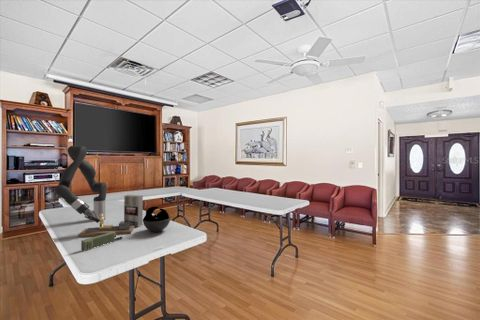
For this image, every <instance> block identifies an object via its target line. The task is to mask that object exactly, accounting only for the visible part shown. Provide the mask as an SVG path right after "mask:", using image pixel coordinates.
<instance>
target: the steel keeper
mask: <svg viewBox="0 0 480 320" xmlns="http://www.w3.org/2000/svg"><path fill="white" fill-rule="evenodd" d="M118 226H119V230H129V229H130V228H131V221H124V220H122V221H119V223H118Z"/></svg>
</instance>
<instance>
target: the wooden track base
mask: <svg viewBox="0 0 480 320" xmlns="http://www.w3.org/2000/svg"><path fill="white" fill-rule="evenodd" d="M99 227H100V226H99ZM99 227H87V228H84V230H81V232H79V233H78V235H77V238H79V239H80V238H92V237H96V236H99V235H103V234H107V233H110V232H114V231H115V233H116V234H115V236H118V235H120V234H121V235H132V233H133V231H134V229H135V227H134V226H131V228H130V229H129V230H119V225H116V226H115V225H114V226H113V228H107V229H99ZM131 232H132V233H131ZM121 235H120V236H121Z"/></svg>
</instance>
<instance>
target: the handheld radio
mask: <svg viewBox="0 0 480 320" xmlns="http://www.w3.org/2000/svg"><path fill="white" fill-rule="evenodd" d="M115 234H116V233H115V231H114V232H110V233H107V234H103V235H99V236H93V237H87V238H86V239H82V240H81V243H80V244H81V245H80V246H81V247H80V249H81V250H82V251H81V250H80V251H81V252H85V251H84V250H86V251H88V249H89V250H92V249H91V248H93V249H95V248H94V247H96V248H98V247H97V246H99V247H102V246H104V245H103V244H106V245H108V244H107V243H109V244H111V243H110V242H112V243H114V241H115V242H116V241H118V240H121V239H123V236H119V237H117V235H115ZM101 245H102V246H101Z"/></svg>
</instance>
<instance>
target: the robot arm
mask: <svg viewBox="0 0 480 320" xmlns="http://www.w3.org/2000/svg"><path fill="white" fill-rule="evenodd" d="M87 151H88V150H87V148H86V147H85V146H83V145H70V146H69V147H68V148H67V155H68V157H69V158H70V159H71V160H72V162H71V163H70V164H69V165H68V166H67V167H66V168H65V169H64V170H63V172H62V174H61V176H60V179H59V183H58V185H56V187H55V189H54V193H55V195H56V196H57V197H61V199H64V201H65V202H66V203H67V204H68V205H69V206H70V207H71V208H72V209H74V210H75V211H76V213H78V214H79V215H84V218H85V219H87V220H90V221H94V222H95V223H97V224H99V223H100V217H99V215H100V214H103V215H104V217H103V221H104V220H106V198H107V188H108V187H107V183H106V182H97V181H96V179H95V177H96V173H97V172H96V169H95V167H94V166H93V165H92V164H91V163H90V162H88V161H87V160H85V157H86V155H87V154H88V152H87ZM78 169H79V171H80V173H81V174H82V175H83V177H84V180H86V181H87V184H88V186H89V188H90V190H91V191H92V193H95V194H98V195H97V196H94V197H93V201H92V202H93V203H92V204H93V210H91V209H89V208H90V205H89V204H87V202H85V201H84V200H83V199H81V198H79V196H77V195H76V194H75V193H74V192H72V190H70V186H71V183H72V182H73V179H74V177H75V175H76V172H77V170H78Z"/></svg>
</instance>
